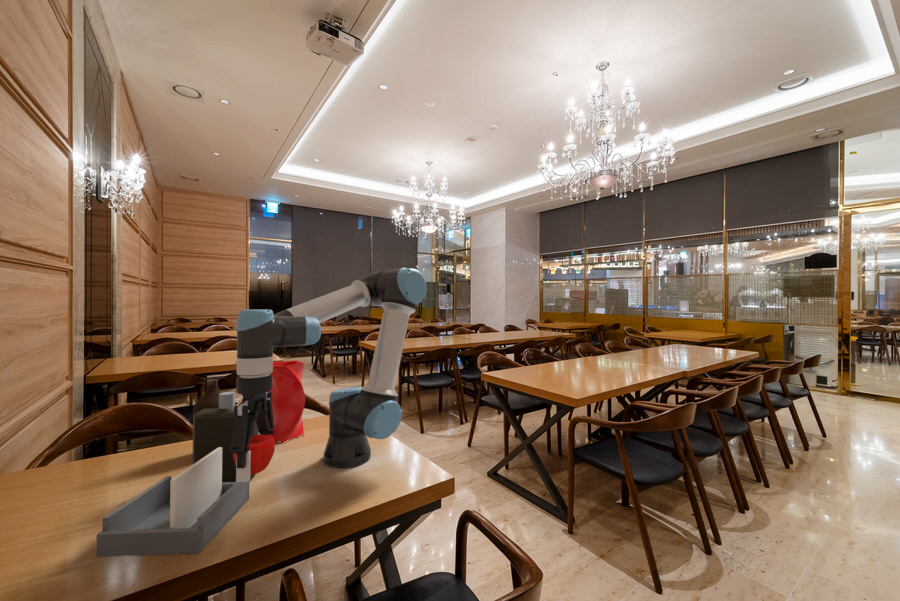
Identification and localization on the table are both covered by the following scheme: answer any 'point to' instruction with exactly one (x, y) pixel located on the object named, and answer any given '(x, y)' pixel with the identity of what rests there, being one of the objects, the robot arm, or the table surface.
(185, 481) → the plate
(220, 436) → the bottle
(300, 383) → the vase
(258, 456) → the apple
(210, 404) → the olive oil
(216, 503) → the grey tray
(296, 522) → the table surface
